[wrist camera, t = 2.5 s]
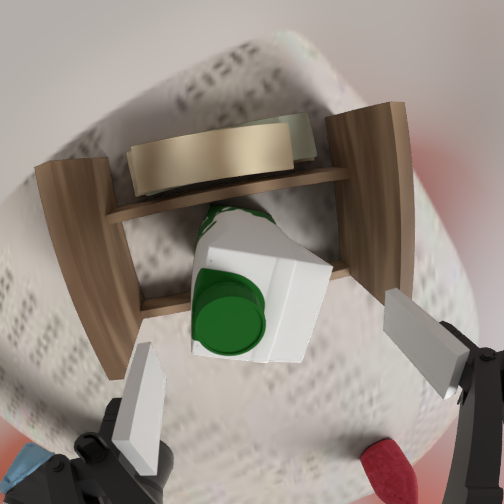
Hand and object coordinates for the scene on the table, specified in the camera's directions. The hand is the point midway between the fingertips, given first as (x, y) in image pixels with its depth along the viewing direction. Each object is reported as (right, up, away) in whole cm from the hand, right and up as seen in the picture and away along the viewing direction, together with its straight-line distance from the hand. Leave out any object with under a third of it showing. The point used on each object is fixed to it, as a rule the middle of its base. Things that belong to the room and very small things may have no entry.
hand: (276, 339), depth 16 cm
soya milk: (-3, +6, +20) cm, 21 cm away
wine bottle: (+28, -42, +41) cm, 65 cm away
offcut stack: (-5, +16, +17) cm, 24 cm away
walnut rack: (-4, +9, +19) cm, 21 cm away
